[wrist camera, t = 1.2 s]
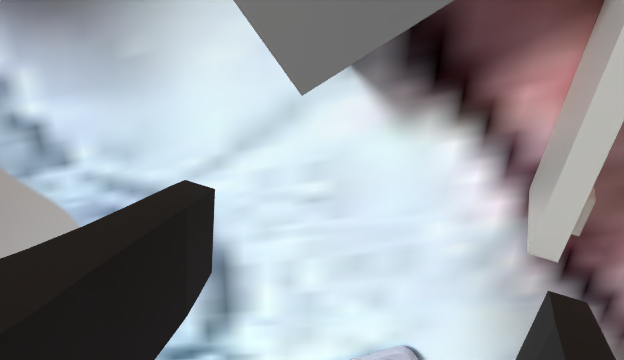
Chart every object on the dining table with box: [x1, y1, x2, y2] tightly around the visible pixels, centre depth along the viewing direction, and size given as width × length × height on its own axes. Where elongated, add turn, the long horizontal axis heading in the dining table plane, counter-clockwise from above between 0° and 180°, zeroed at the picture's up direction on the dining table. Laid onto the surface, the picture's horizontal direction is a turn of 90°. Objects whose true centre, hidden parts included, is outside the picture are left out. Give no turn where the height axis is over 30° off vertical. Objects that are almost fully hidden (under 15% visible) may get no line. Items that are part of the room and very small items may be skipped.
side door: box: [527, 0, 624, 262], centre depth 15 cm, size 10×1×3 cm, turn 173°
